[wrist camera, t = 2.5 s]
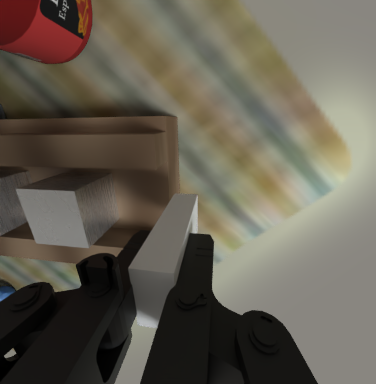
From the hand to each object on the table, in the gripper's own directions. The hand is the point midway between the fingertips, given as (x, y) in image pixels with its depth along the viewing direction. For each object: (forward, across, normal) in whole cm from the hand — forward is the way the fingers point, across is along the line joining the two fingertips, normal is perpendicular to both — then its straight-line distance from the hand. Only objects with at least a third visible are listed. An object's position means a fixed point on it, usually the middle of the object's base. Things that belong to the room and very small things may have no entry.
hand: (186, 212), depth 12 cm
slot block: (+6, -10, 0) cm, 12 cm away
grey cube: (+2, -8, 0) cm, 8 cm away
